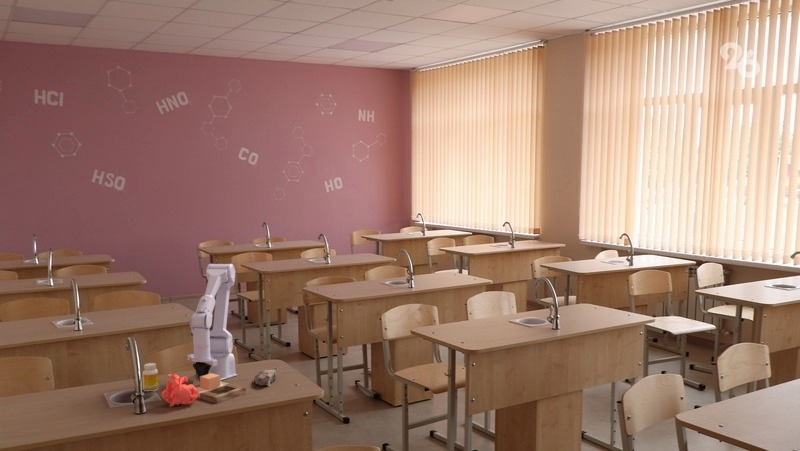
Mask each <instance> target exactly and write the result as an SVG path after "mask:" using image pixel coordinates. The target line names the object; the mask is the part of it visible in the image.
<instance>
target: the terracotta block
mask: <svg viewBox="0 0 800 451" xmlns="http://www.w3.org/2000/svg"><path fill="white" fill-rule="evenodd" d="M209 373H210V372H209ZM216 387H220V375H216V374H212V373H210V374H207V375H203V376H200V388H204V389H208V390H210V389H213V388H216Z"/></svg>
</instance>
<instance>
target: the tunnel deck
mask: <svg viewBox="0 0 800 451" xmlns="http://www.w3.org/2000/svg"><path fill="white" fill-rule="evenodd" d="M208 374H210V372H209V373H208ZM179 377H180V376H179ZM187 377H188V378H187V379H188V382H184V383H181V385H182V384H185V385H187V386H188V385H189V384H192V385H193V386H194V387H196V389H197V390H198V391H199V392H197V393H198V394H197V395H198V396H197V399H201V400H204V401H207V402H211V403H214V404H220V403H222V402H225V401H228V400H230V399H233V398H236V397H239V396H242V395H244V394H247V388H246V387H244V386H241V385H237V384H233V383H229V382H226V381H223V380H221V381H220V387H216V388H213V389H210V390H208V389H204V388H200V381H199V378H198V375H197V372H196V371H195V375H194V374H193V375H190V376H187ZM181 378H182V377H180V378H179V379H181ZM171 386H172V385H171ZM190 392H191V390H190Z"/></svg>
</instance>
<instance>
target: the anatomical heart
mask: <svg viewBox="0 0 800 451" xmlns="http://www.w3.org/2000/svg"><path fill="white" fill-rule="evenodd" d="M167 376H168V378H166V381H165V382H166V383H165V385H166V386H165V388H164V389H163V390H162V392H161V397H162V399H163V400H164V401H166V402H167V403H168V404H169V407H174V405H177V406H179V405H180V404H181V403H182V405H185V406H186V405H189V406H190V405H192V404H193V403H194V402H195V400H197V399H198V398H197V396H198V395H197V394H198V393H197V392H199V391H198V390H197V389H196V387H194V386H193V385H192V384H189V385H188V386H187V385H185V384H182V385H181V383H184V382H188V379H187V378H188V377H189V376H186V375H184V376H182V377H181V379H179V378H180V376H179V375H178V374H176V373H173V374H171V373H170V374H168V375H167ZM170 378H171V379H172V380H173V381H170V380H171V379H170ZM171 385H172V386H171ZM190 390H191V392H190Z"/></svg>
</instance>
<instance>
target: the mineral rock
mask: <svg viewBox="0 0 800 451" xmlns="http://www.w3.org/2000/svg"><path fill="white" fill-rule="evenodd" d="M276 372H277V371H276V368H275V369H262V370H260V371H259V372H258V373H256V374H255V376H254V378H253V380H254V382H255V384H256V385H259V386H267V387H270V386H271V383H273V382H274V381H276V379H277V375H276Z"/></svg>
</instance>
